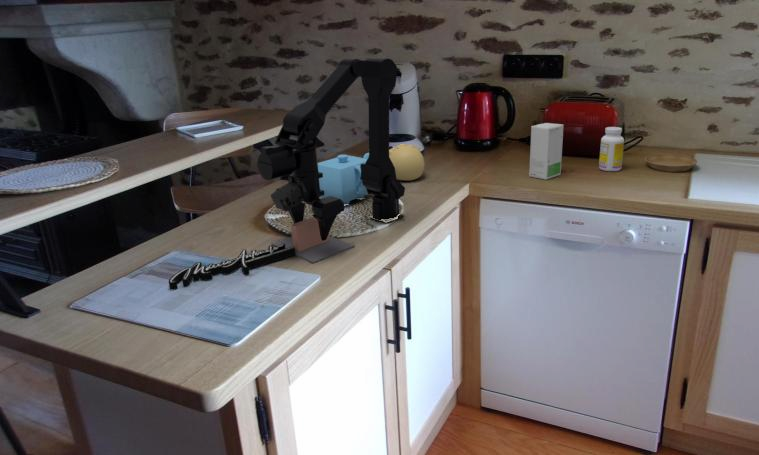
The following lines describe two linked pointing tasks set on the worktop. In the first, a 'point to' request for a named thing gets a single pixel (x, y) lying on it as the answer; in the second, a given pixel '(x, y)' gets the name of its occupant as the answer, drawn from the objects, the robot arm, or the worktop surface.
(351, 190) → the teapot
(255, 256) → the nameplate
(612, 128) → the supplement bottle
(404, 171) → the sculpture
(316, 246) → the mat
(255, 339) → the worktop surface
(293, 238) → the card box
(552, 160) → the skincare box
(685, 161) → the plant saucer
